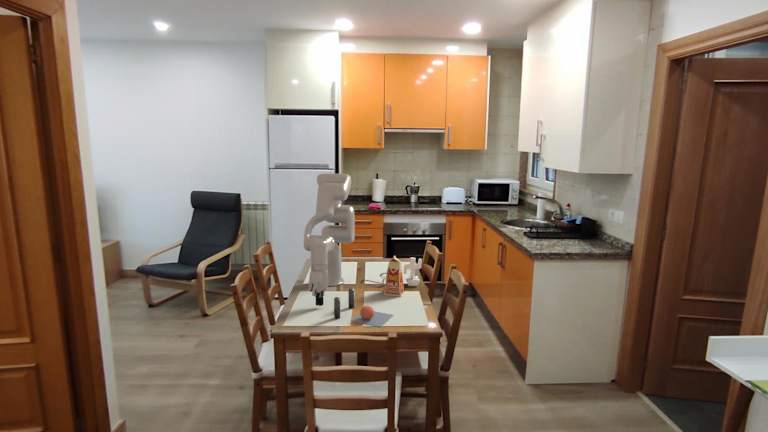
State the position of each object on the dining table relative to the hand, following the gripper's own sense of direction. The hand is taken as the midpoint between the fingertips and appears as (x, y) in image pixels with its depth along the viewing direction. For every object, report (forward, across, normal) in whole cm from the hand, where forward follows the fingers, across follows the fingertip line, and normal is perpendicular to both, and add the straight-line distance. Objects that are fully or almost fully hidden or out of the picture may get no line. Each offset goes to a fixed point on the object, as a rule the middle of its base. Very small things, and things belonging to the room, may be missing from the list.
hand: (319, 304), depth 205 cm
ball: (-2, +2, +25) cm, 25 cm away
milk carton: (+2, -34, +23) cm, 41 cm away
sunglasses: (+2, -48, +9) cm, 49 cm away
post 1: (+2, +7, +13) cm, 15 cm away
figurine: (+2, -50, +27) cm, 57 cm away
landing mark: (+2, 0, +27) cm, 27 cm away
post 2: (+2, -6, +13) cm, 15 cm away
